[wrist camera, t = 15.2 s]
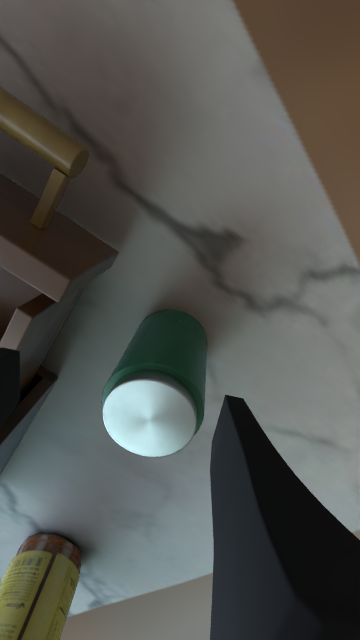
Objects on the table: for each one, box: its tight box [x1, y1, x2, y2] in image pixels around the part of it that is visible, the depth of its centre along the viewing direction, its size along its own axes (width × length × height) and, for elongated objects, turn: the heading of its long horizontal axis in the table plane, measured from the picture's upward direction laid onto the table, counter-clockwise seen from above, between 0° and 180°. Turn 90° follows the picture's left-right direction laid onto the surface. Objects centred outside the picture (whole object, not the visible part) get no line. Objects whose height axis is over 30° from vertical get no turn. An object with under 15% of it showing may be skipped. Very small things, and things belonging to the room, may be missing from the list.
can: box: [102, 310, 207, 457], centre depth 18 cm, size 5×5×8 cm
